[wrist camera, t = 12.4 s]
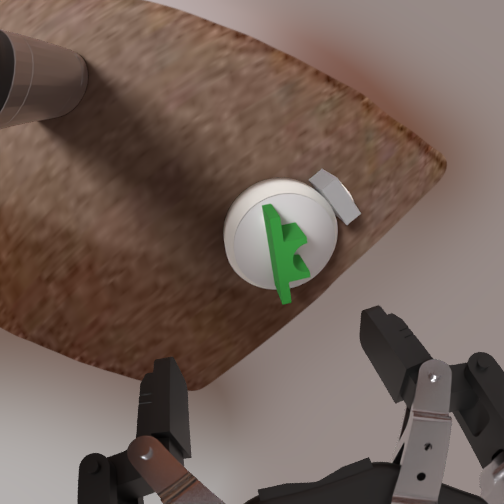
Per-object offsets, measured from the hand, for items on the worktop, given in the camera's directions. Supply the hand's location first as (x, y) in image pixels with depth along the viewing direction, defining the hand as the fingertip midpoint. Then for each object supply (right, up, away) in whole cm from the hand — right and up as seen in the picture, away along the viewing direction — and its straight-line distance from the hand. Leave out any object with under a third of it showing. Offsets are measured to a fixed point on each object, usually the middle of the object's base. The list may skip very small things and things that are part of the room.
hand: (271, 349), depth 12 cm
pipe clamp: (+3, +5, +27) cm, 27 cm away
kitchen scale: (+4, +8, +30) cm, 31 cm away
